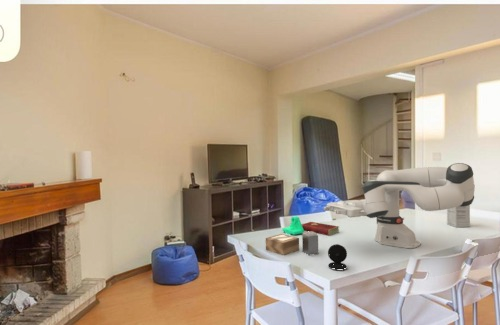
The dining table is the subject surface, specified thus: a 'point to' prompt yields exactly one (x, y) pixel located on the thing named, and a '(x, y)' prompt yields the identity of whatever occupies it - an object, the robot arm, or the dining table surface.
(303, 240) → the block
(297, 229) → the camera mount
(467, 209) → the supplement box
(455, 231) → the dining table surface
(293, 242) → the stand
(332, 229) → the hardcover book
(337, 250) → the webcam
